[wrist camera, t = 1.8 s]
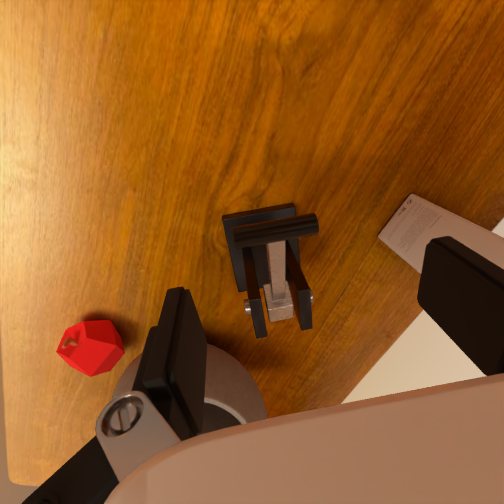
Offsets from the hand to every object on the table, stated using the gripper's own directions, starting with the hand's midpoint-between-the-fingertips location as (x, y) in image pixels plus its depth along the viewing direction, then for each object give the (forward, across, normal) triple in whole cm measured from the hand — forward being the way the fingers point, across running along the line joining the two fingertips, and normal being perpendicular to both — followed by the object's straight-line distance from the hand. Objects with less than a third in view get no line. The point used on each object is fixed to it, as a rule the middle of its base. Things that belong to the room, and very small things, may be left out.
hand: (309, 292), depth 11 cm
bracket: (+21, 0, +9) cm, 23 cm away
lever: (+10, 0, +5) cm, 11 cm away
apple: (+21, +24, +17) cm, 36 cm away
